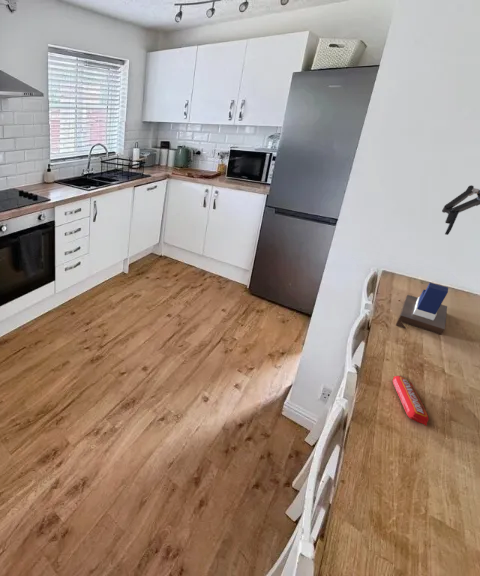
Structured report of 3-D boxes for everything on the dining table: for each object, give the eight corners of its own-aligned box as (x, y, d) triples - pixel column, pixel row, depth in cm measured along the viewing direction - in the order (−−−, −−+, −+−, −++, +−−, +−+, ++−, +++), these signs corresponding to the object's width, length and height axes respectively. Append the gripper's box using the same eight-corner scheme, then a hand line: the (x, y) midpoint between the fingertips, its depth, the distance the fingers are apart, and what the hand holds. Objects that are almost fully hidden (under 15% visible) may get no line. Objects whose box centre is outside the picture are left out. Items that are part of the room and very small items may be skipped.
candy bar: (427, 429, 82) (434, 420, 80) (407, 424, 83) (413, 414, 81) (405, 383, 95) (410, 374, 93) (388, 379, 96) (393, 370, 94)
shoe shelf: (402, 304, 133) (407, 294, 131) (441, 316, 127) (447, 306, 125) (395, 325, 120) (400, 315, 118) (438, 340, 113) (444, 329, 111)
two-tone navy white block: (416, 301, 127) (430, 275, 122) (435, 306, 124) (450, 280, 119) (413, 314, 119) (427, 286, 114) (433, 320, 116) (449, 292, 111)
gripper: (559, 194, 104) (534, 257, 101) (445, 179, 119) (420, 233, 116) (574, 177, 98) (548, 243, 95) (453, 164, 113) (427, 220, 110)
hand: (478, 238), depth 105 cm, fingers open, 13 cm apart
